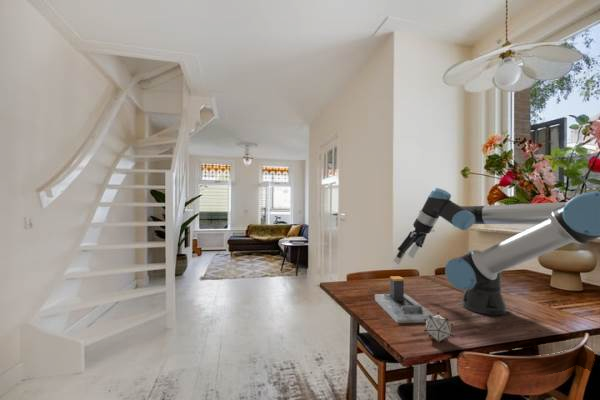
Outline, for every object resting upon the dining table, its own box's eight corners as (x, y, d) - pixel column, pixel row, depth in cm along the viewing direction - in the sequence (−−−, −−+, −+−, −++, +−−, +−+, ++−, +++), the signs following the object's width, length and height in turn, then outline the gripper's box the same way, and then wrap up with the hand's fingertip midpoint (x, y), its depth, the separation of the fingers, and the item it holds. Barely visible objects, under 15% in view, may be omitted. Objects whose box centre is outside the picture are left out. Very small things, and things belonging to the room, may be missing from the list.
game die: (445, 354, 86) (466, 336, 81) (420, 345, 86) (440, 326, 81) (436, 328, 94) (455, 310, 89) (413, 320, 94) (431, 301, 89)
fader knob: (389, 296, 120) (389, 276, 120) (400, 296, 120) (400, 276, 120) (393, 300, 115) (393, 279, 115) (404, 300, 115) (405, 279, 115)
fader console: (374, 299, 124) (374, 289, 124) (405, 299, 125) (405, 289, 125) (397, 322, 100) (397, 310, 100) (435, 322, 101) (435, 309, 101)
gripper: (429, 214, 133) (409, 249, 142) (404, 220, 117) (382, 260, 125) (444, 222, 129) (422, 258, 138) (419, 230, 112) (396, 271, 121)
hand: (403, 259), depth 131 cm, fingers open, 13 cm apart
